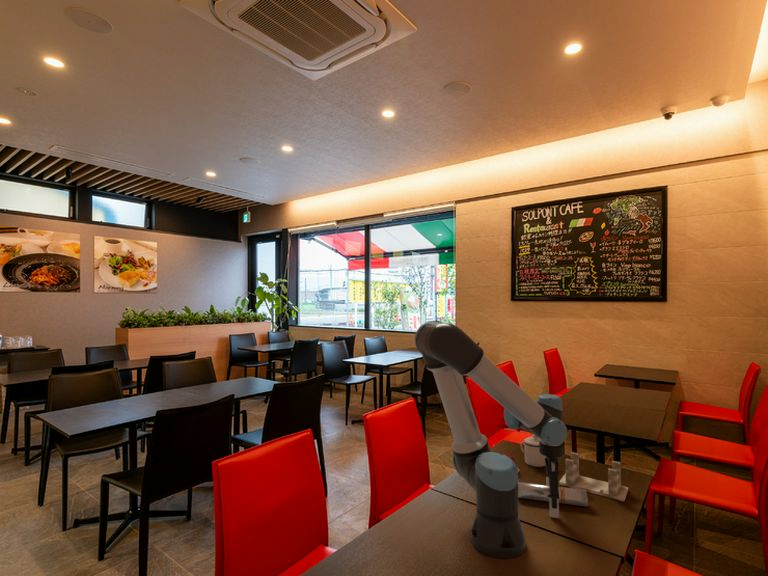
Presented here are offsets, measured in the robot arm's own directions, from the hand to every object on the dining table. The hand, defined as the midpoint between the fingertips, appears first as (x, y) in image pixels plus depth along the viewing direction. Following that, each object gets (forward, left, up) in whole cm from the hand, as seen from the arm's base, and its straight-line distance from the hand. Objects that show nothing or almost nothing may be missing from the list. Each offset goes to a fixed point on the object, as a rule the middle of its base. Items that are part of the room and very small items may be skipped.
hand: (552, 506), depth 135 cm
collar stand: (+8, +23, 0) cm, 24 cm away
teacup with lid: (-17, +33, 0) cm, 37 cm away
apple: (-22, +19, 0) cm, 29 cm away
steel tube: (-1, +1, +2) cm, 3 cm away
